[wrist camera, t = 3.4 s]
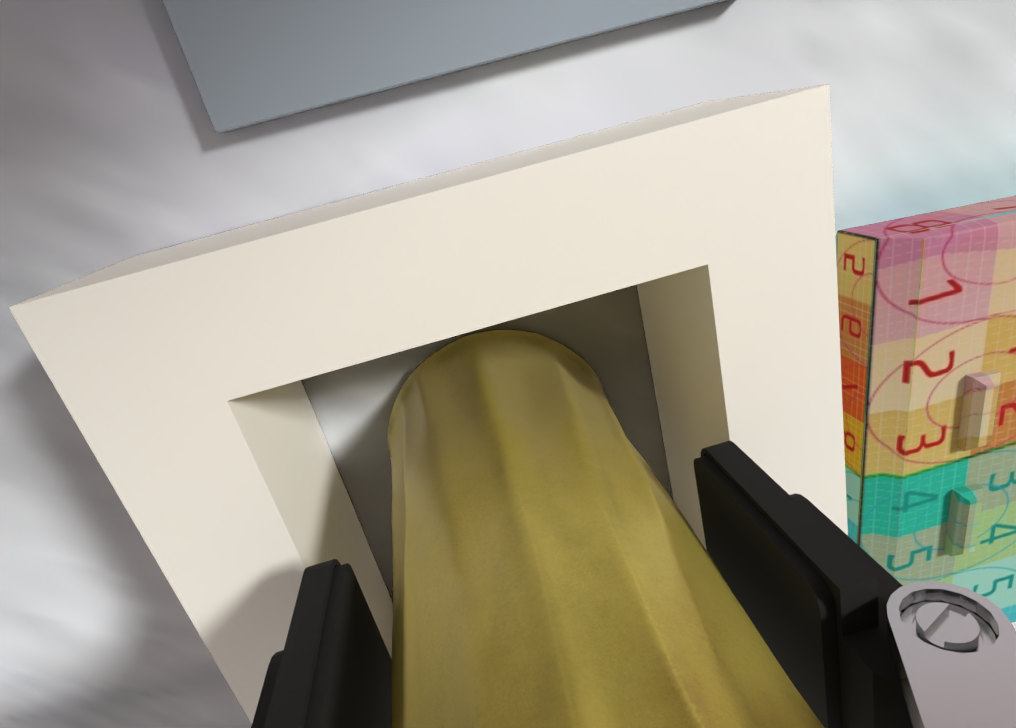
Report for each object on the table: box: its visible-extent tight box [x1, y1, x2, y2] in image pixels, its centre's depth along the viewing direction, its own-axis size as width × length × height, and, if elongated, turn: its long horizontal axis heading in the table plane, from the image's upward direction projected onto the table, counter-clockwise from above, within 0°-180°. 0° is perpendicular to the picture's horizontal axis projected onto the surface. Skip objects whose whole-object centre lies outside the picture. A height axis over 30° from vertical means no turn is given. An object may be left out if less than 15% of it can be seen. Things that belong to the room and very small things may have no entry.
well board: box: [8, 84, 848, 724], centre depth 15 cm, size 14×14×4 cm
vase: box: [387, 330, 824, 728], centre depth 10 cm, size 6×6×14 cm
